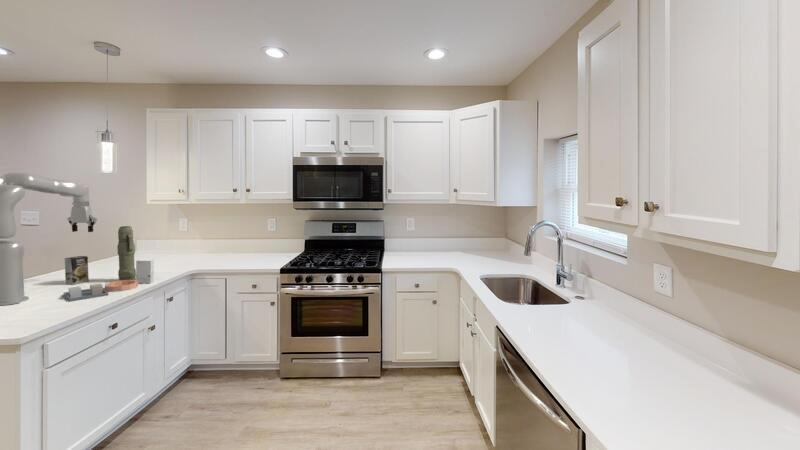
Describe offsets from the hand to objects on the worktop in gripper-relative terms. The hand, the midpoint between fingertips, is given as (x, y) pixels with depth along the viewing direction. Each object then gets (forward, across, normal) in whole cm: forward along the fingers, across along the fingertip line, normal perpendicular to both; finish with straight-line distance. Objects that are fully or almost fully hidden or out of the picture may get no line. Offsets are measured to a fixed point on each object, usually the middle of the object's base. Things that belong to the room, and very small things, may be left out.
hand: (82, 231), depth 227 cm
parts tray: (+31, +27, -33) cm, 53 cm away
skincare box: (+31, +39, -2) cm, 50 cm away
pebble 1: (+31, +24, -36) cm, 53 cm away
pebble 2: (+31, +30, -29) cm, 52 cm away
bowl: (+31, +35, -17) cm, 50 cm away
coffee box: (+32, 0, -6) cm, 32 cm away
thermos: (+31, +25, +2) cm, 40 cm away
